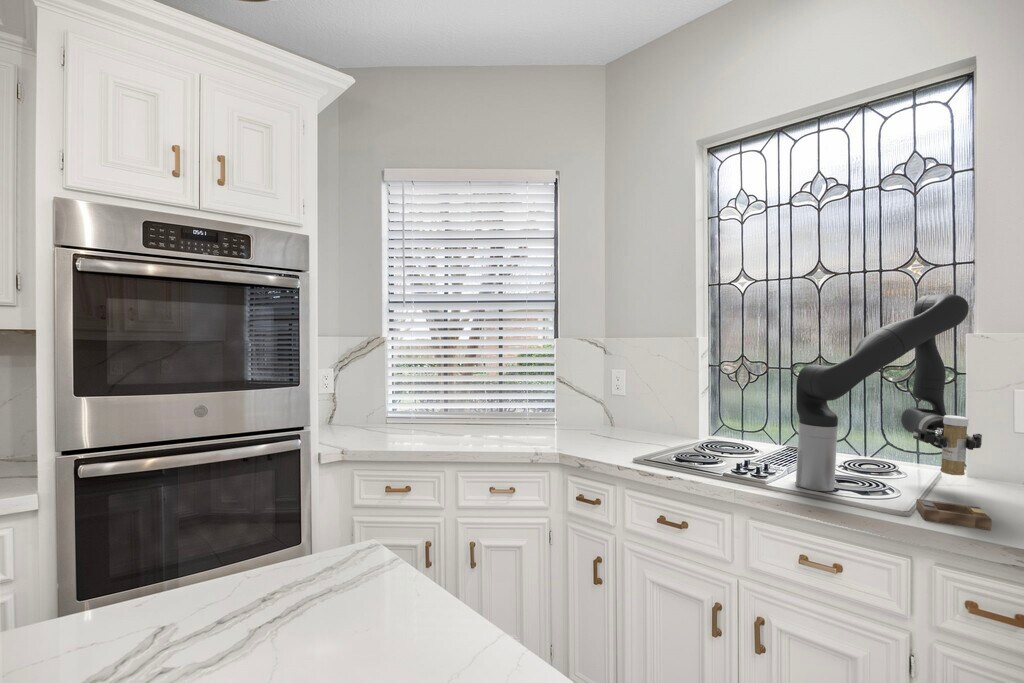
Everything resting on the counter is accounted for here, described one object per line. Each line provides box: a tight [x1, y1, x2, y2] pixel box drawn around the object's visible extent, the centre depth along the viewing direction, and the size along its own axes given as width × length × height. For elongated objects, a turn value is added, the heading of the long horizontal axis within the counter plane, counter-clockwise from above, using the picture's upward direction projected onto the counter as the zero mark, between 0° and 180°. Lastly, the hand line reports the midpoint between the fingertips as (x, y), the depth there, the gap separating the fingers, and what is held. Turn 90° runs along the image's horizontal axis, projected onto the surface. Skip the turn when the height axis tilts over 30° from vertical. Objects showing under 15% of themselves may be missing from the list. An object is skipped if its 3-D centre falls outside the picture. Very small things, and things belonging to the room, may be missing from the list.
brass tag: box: [970, 508, 986, 515], centre depth 127 cm, size 2×3×1 cm, turn 153°
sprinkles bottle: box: [940, 414, 969, 476], centre depth 130 cm, size 5×5×14 cm
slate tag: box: [921, 501, 935, 507], centre depth 131 cm, size 2×3×1 cm, turn 153°
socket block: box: [915, 498, 992, 531], centre depth 129 cm, size 12×9×2 cm
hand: (958, 443), depth 127 cm, fingers closed on sprinkles bottle, 4 cm apart
